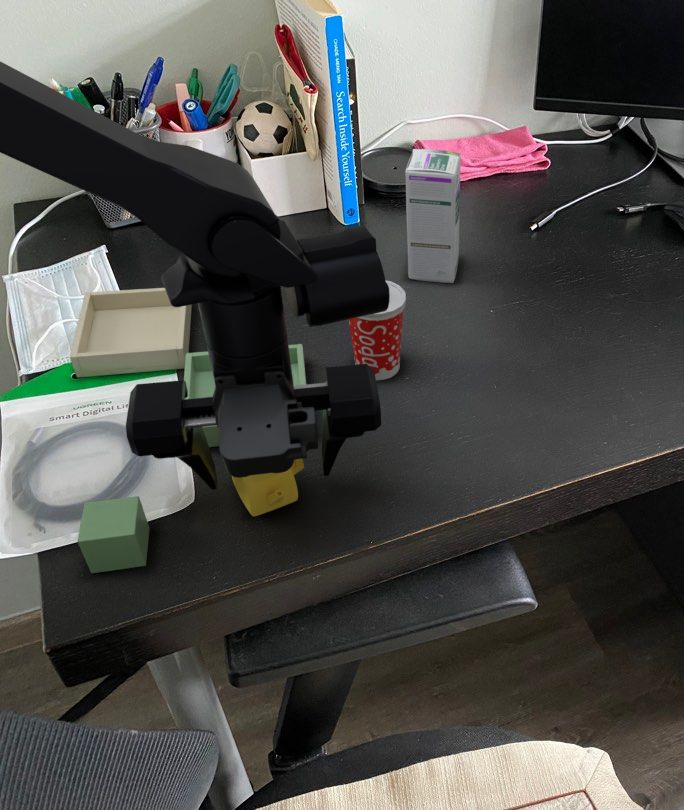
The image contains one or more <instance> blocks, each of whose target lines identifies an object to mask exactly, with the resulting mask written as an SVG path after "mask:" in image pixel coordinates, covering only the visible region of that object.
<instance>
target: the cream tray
mask: <svg viewBox="0 0 684 810" xmlns="http://www.w3.org/2000/svg"><path fill="white" fill-rule="evenodd" d="M192 305H193V304H192ZM192 305H187V306H182V307H173V306H172V305H171V303H170V300H169V298H168V295H167V293H166V290H165V287H154V288H137V289H136V288H135V289H122V290H121V289H120V290H119V289H118V290H103V291H90V292H89V291H88V292H87V291H86V292H84V295H83V299H82V304H81V308H80V312H79V316H78V319H77V320H78V321H77V324H76V329H75V333H74V338H73V342H72V345H71V346H72V347H71V350H70V355H69V360H70V362H71V364H72V365H71V366H72V368H73V370H74V373H75V376H76V378H88V377H90V378H91V377H100V376H101V377H102V376H112V375H122V374H125V375H126V374H134V373H135V374H136V373H147V372H148V373H149V372H158V371H159V372H160V371H161V372H162V371H172V370H183V369H184V370H185V358H186V353H190V352H189V350H190V337H191V321H192V309H193V307H192Z"/></svg>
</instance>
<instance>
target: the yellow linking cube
mask: <svg viewBox="0 0 684 810" xmlns="http://www.w3.org/2000/svg"><path fill="white" fill-rule="evenodd" d="M303 469H305V462H304V458H302V459H295V460H294V463H293V465H292V467H291V468H290V469H289V470H288V471H286V472H282V473H266V474H258V475H250V476H247V477H242V478H236V477H233V476H231V481H232V482H233V485H234V487H235V490H236V492H237V494H238V497H239V498H240V500H241V501H242V503H243V505H244V506H245V509H246V510H247V512H248V513H249V514H250V515H251V516H252V517H258V516H261V515H263V514H266V513H269V512H272V511H274V510H278V509H279V508H282V507H284V506H287V505H289V504H293V503H294V502H295V503H296V502H297V501H298V500H299V491H298V485H297V480H296V478H295V475H296V474H298V473H299V472H301V471H302V470H303Z"/></svg>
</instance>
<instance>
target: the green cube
mask: <svg viewBox="0 0 684 810" xmlns="http://www.w3.org/2000/svg"><path fill="white" fill-rule="evenodd" d="M150 529H151V528H150V526H149V522H148V519H147V516H146V513H145V509H144V506H143V504H142V501H141V498H140V496H139V495H138V496H128V497H120V498H113V499H112V498H111V499H105V500H95V501H87V502H84V503H83V509H82V513H81V518H80V525H79V531H78V537H77V544H78V546H79V548H80V551H81V553H82V556H83V558H84V560H85V563H86V565H87V567H88V569H89V572H90V574H97V573H104V572H112V571H119V570H125V569H126V570H127V569H133V568H139V567H146V566H147V559H148V549H149V538H150Z"/></svg>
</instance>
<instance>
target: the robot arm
mask: <svg viewBox="0 0 684 810" xmlns="http://www.w3.org/2000/svg"><path fill="white" fill-rule="evenodd" d="M0 154H1V155H2V154H3V155H4V156H7V157H9V158H11V159H13V160H16V161H18V162H20V163H22V164H25V165H27V166H29V167H31V168H34V169H36V170H38V171H40V172H43V173H45V174H47V175H49V176H51V177H53V178H55V179H58V180H59V181H62V182H64V183H66V184H68V185H71V186H74V187H76V188H77V189H80V190H82V191H84V192H86V193H89V194H91V195H93V196H96V197H97V198H100V199H102V200H104V201H106V202H109V203H111V204H113V205H115V206H117V207H119V208H121V209H123V210H124V211H126V212H127V213H129V214H130V215H132V216H133V217H135V218H136V219H138V220H139V221H141V223H143V224H144V225H145V226H146V227H147V228H149V230H151V231H152V232H153V233H154V234H156V235H157V236H158V237H159V238H160V239H161V240H163V241H164V242H165V243H166V244H167V245H168V246H170V247H171V248H172V249H174V250H176V251H178V252H179V253H180V254H181V255H179V256H178V259H177V261H176V263H174V264H173V265H172V266H170V267H168V268H167V270H166V271H165V272H163V273H162V274H161V276H160V279H161V282H162V284H163V288H165V290H166V293H167V295H168V298H169V300H170V303H171V305H172V306H173V307H182V306H187V305H197V306H198V311H199V315H200V321H201V326H202V329H203V334H204V338H205V345H206V349H207V352H208V354H209V359H210V363H211V368H212V373H213V377H214V382H215V390H214V394H213V397H205V398H195V399H185V398H186V397H187V396H188V389H187V385H186V382H185V381H184V379H181V380H171V381H170V380H169V381H158V382H147V383H137V384H136V385H135V386H134V387H133V388H132V390H131V391H130V392H129V393H130V394H129V401H128V407H127V414H126V422H125V433H126V439H127V442H128V445H129V448H130V452H131V453H132V454H134V455H135V456H137V457H139V458H141V457H147V456H148V457H149V456H153V458H155V459H157V460H163V459H175V458H176V459H179V460H180V461H182V462H183V464H185V465H187V466H188V467H189V468H190V469H191V470H192V471H193V472H194V473H195V474H196V476H198V477H199V478H200V479H201V480H202V481H203V482H204V483H205V484H206V485H207V486H208V487H209V489H211V490H213V491H215V490H217V489H218V477H217V471H216V465H215V462H214V460H213V459H214V458H213V456H212V452H211V449H210V447H209V446H208V443H207V440H206V437H205V434H204V430H203V427H205V426H214V425H217V427H218V428H219V446H218V447H219V453H220V455H221V459H222V462H223V464H224V467H225V469H226V471H227V473H228V475H230V476H231V477H232V476H233V477H236V478H242V477H247V476H250V475H258V474H266V473H282V472H286V471H288V470H289V469H290V468H291V467H292V465H293V463H294V460H295V459H302V458H303V459H307V458H308V455H307V453H308V451H312V450H317V449H319V438H318V428H317V420H316V419H317V418H316V412H317V411H322V427H321V428H322V431H321V461H322V470H323V476H324V477H328V476H330V474H331V471H332V468H333V466H334V464H335V462H336V459H337V457H338V454H339V452H340V450H341V448H342V447H343V445H344V443H345V442H346V440H347V439H352V438H359V437H362V436H363V435H364V434H365V432H375V431H377V430H378V429H379V428H380V427H381V426H382V409H381V399H380V394H379V390H378V384H377V380H376V378H375V373H374V370H373V369H372V368H371V367H370V366H369V365H367V364H358V365H355V364H349V365H348V364H347V365H338V366H337V365H336V366H326V367H325V369H324V370H325V378H326V381H325V382H320V383H319V382H318V383H309V384H308V383H307V385H296V386H294V384H293V377H292V369H291V361H290V354H289V346H288V345H289V339H288V333H287V332H288V331H287V324H286V317H285V316H286V315H285V310H284V302H283V295H282V287H283V288H284V293H285V295H286V300H287V302H288V305H289V308H290V310H291V313H292V314H293V316H294V317H296V318H297V317H302V316H305V318H306V322H307V325H308V326H309V327H313V328H316V327H321V326H327V325H330V324H334V323H339V322H344V321H349V319H353V318H357V317H362V316H366V315H371V314H375V313H380V312H384V311H386V310H387V309H388V306H389V298H390V294H389V286H388V284H387V283H386V281H387V280H386V276H385V272H384V268H383V265H382V262H381V259H380V256H379V254H378V251H377V239H376V237H375V236H374V235H373V233H372V232H371V230H370V229H369V228H368V226H366V225H364V224H363V225H359V226H358V225H357V226H352V227H349V228H346V229H344V230H341V231H338V232H333V233H328V234H327V233H326V234H320V235H314V236H309V237H304V238H298V239H296V237H295V235H294V234H293V232H292V231H291V229H290V227H289V226H288V225H287V223H286V221H285V220H283V219H282V218H281V217H279V216H278V215H277V214H276V213H275V212H274V209H273V208H272V206H271V204H270V203H269V201H268V200H267V198H266V196H265V195H264V193H263V191H262V190H261V188H260V187H259V185H258V183H257V181H256V180H255V178H254V177H253V176H252V174H251V173H250V171H248V169H246V168H244V166H242V165H241V164H239V163H237V162H235V161H233V160H231V159H228V158H224V157H222V156H219V155H216V154H213V153H210V152H208V151H205V150H202V149H199V148H196V147H193V146H191V145H186V144H178V143H172V142H163V141H159V140H156V139H153V138H150V137H147V136H144V135H142V134H139V133H137V132H135V131H133V130H131V129H130V128H127V127H126V126H124V125H123V124H120V123H118V122H116V121H114V120H112V119H111V118H108V117H106V116H105V115H103V114H101V113H100V112H97V111H96V110H93V109H92V108H90V107H87V106H86V105H84V104H82V103H80V102H78V101H76V100H74V99H72V98H71V97H69V96H67V95H65V94H63V93H62V92H60V91H58V90H56V89H54V88H52V87H50V86H48V85H46V84H44V83H43V82H40V81H39V80H36V79H35V78H33V77H30V76H29V75H27V74H25V73H23V72H21V71H20V70H18V69H16V68H13V66H10V65H8V64H6V63H5V62H3V61H1V60H0ZM385 280H386V281H385ZM290 422H291V423H290Z"/></svg>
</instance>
